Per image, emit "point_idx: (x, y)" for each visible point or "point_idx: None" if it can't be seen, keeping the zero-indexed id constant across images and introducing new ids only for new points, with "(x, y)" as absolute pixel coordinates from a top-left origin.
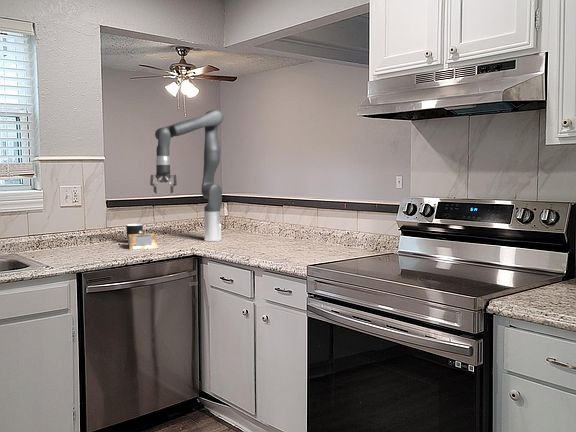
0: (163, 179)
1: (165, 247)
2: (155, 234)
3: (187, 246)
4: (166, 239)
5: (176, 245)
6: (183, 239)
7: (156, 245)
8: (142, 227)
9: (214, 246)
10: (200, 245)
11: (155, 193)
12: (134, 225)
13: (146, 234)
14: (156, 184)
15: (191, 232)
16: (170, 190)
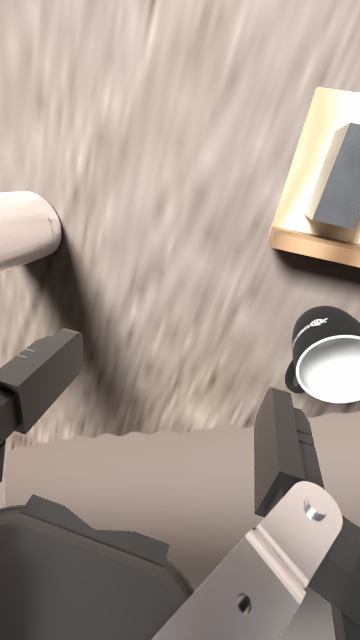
0: (53, 631)
1: (271, 98)
2: (276, 232)
3: (162, 83)
4: (182, 337)
5: (199, 149)
6: (127, 306)
7: (312, 122)
8: (303, 343)
9: (42, 15)
10: (99, 92)
11: (283, 393)
12: (321, 393)
13: (323, 243)
14: (285, 523)
15: (75, 422)
16: (62, 391)
